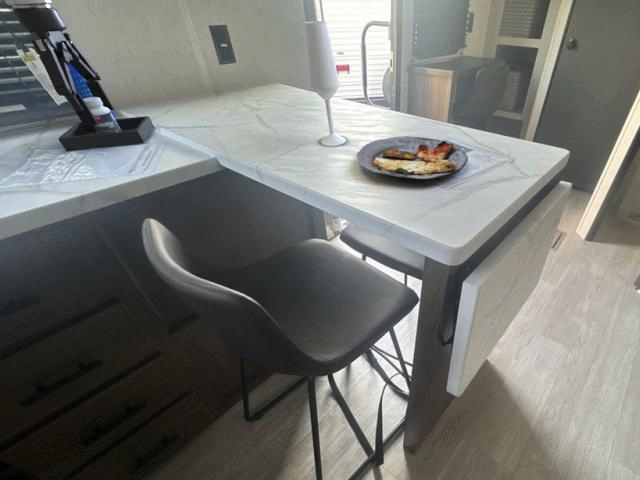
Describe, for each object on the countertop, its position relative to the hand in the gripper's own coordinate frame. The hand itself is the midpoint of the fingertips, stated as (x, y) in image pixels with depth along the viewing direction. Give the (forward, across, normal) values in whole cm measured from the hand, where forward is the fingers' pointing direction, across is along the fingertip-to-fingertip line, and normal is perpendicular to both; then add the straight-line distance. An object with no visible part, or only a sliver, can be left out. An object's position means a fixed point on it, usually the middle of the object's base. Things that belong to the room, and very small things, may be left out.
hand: (100, 117), depth 82 cm
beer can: (+5, +14, +6) cm, 17 cm away
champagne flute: (+5, -22, -57) cm, 61 cm away
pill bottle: (+5, 0, 0) cm, 5 cm away
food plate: (+5, -43, -72) cm, 84 cm away
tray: (+5, 0, 0) cm, 5 cm away
